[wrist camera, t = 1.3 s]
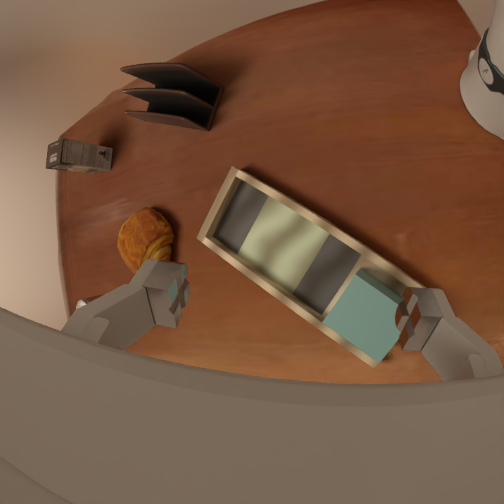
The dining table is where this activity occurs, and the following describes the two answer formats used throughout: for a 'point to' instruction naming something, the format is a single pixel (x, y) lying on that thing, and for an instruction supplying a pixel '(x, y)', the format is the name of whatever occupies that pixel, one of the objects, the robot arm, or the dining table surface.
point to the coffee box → (78, 156)
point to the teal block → (366, 315)
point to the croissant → (145, 238)
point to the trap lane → (292, 250)
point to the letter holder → (175, 95)
